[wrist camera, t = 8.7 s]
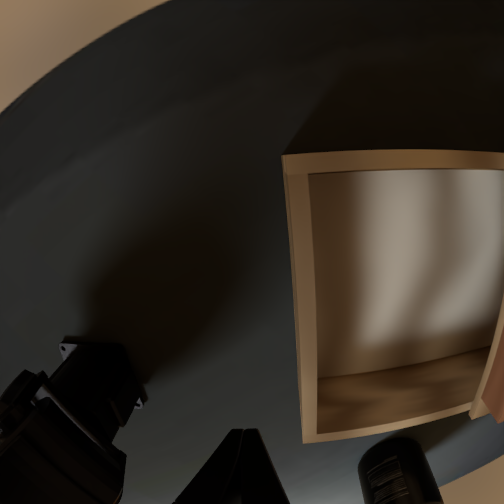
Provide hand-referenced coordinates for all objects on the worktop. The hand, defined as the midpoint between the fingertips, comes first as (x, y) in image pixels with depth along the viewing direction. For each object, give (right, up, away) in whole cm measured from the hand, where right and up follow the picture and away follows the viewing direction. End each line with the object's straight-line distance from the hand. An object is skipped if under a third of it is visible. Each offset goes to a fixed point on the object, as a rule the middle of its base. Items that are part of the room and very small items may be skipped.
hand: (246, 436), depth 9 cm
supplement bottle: (+14, -15, +16) cm, 26 cm away
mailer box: (+12, +4, +10) cm, 16 cm away
